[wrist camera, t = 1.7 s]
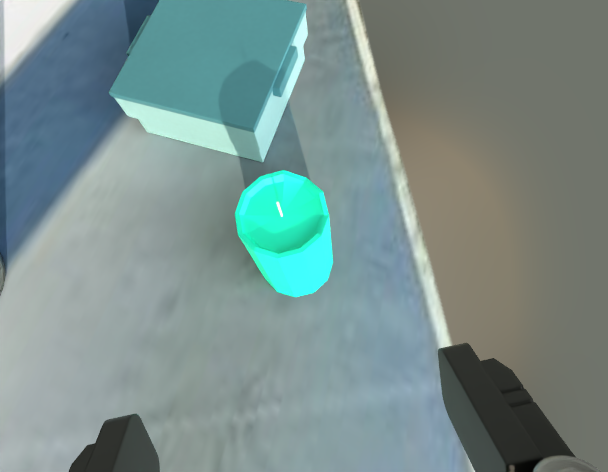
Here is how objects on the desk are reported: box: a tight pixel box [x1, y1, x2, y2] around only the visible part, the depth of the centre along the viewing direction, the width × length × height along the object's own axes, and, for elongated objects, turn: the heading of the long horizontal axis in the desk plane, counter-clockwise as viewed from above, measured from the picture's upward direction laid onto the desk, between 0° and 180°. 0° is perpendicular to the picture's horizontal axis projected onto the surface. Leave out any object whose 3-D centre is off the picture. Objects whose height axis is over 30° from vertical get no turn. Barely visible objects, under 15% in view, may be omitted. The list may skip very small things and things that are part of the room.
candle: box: [235, 170, 333, 297], centre depth 34 cm, size 6×6×12 cm
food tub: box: [109, 0, 308, 162], centre depth 43 cm, size 14×13×6 cm
